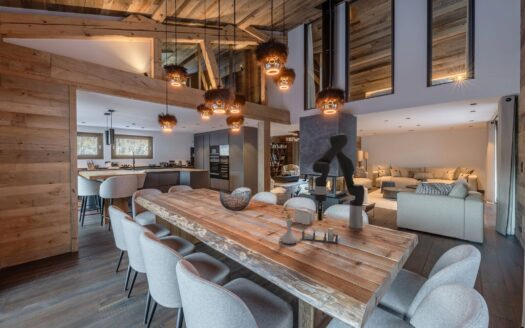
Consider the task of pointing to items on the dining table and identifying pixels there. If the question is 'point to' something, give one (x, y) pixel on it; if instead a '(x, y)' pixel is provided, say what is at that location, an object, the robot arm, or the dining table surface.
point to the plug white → (331, 234)
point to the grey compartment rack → (319, 238)
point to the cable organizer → (304, 215)
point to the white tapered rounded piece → (288, 231)
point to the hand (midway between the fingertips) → (320, 219)
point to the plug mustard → (317, 215)
